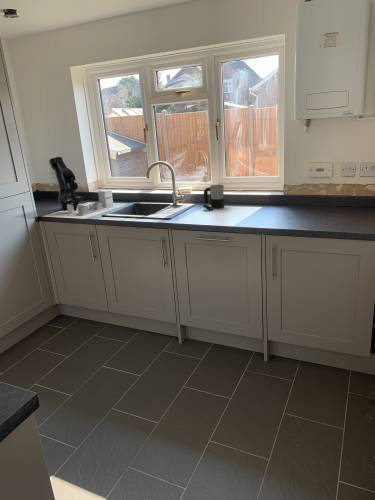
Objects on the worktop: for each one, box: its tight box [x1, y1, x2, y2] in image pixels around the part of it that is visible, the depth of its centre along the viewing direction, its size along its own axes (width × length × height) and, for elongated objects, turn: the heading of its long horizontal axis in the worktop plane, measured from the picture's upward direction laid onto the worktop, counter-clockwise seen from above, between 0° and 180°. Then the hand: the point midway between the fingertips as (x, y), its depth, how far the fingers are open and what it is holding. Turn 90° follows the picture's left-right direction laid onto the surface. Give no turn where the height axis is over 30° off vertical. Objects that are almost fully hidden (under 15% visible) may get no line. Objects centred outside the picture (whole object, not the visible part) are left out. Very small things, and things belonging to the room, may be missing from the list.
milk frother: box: [202, 184, 225, 211], centre depth 266 cm, size 14×16×15 cm
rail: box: [76, 201, 106, 217], centre depth 283 cm, size 6×22×6 cm, turn 147°
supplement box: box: [97, 189, 114, 209], centre depth 295 cm, size 7×7×13 cm
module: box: [67, 203, 78, 214], centre depth 286 cm, size 4×6×6 cm
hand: (72, 210), depth 287 cm, fingers closed on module, 4 cm apart
